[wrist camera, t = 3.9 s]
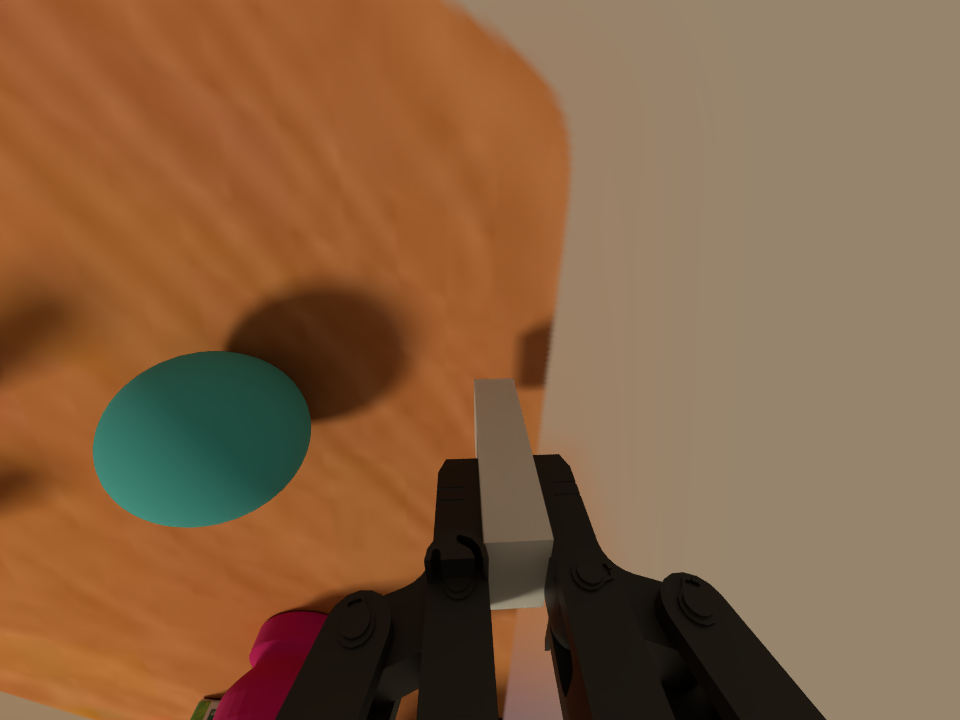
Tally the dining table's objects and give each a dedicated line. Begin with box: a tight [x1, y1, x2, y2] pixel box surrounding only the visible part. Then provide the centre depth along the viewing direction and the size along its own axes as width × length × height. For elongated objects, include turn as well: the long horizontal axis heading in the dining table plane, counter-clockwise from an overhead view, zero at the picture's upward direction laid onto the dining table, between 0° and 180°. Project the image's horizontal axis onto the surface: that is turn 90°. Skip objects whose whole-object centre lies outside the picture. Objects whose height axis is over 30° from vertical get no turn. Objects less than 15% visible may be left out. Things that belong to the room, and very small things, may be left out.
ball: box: [93, 351, 311, 527], centre depth 12 cm, size 6×6×6 cm
